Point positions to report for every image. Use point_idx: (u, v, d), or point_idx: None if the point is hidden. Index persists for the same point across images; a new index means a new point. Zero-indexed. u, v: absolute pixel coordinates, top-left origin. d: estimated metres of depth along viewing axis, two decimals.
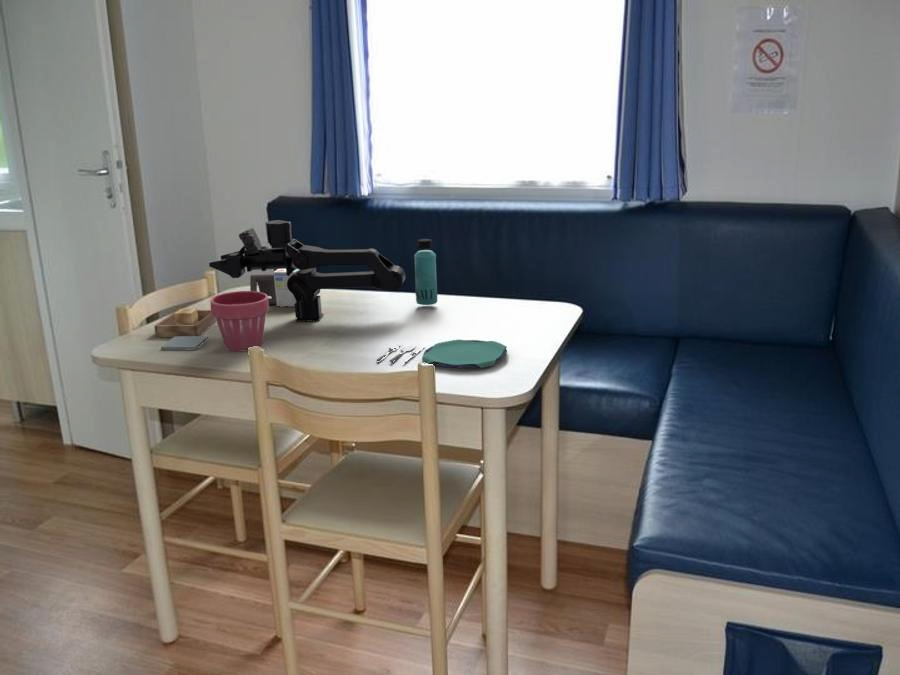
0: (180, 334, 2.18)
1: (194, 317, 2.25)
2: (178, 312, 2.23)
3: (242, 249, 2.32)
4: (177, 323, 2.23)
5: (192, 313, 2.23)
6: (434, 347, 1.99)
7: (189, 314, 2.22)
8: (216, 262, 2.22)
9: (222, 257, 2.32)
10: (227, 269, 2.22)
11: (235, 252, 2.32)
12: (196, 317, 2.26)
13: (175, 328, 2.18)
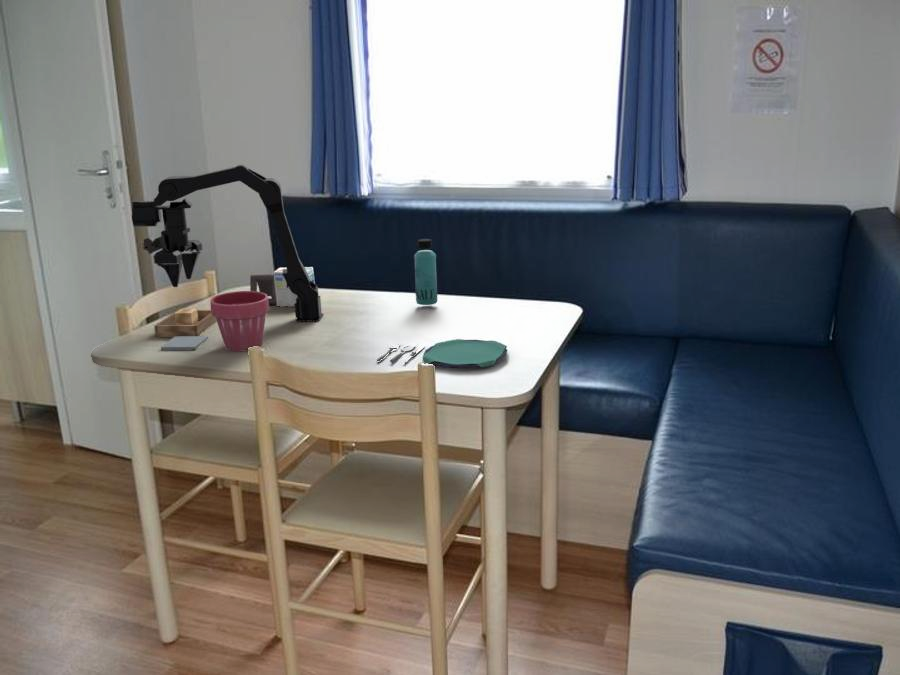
0: (180, 334, 2.18)
1: (194, 317, 2.25)
2: (178, 312, 2.23)
3: None
4: (177, 323, 2.23)
5: (192, 313, 2.23)
6: (434, 347, 1.99)
7: (189, 314, 2.22)
8: (170, 278, 2.16)
9: (188, 277, 2.26)
10: (175, 268, 2.14)
11: None
12: (196, 317, 2.26)
13: (175, 328, 2.18)
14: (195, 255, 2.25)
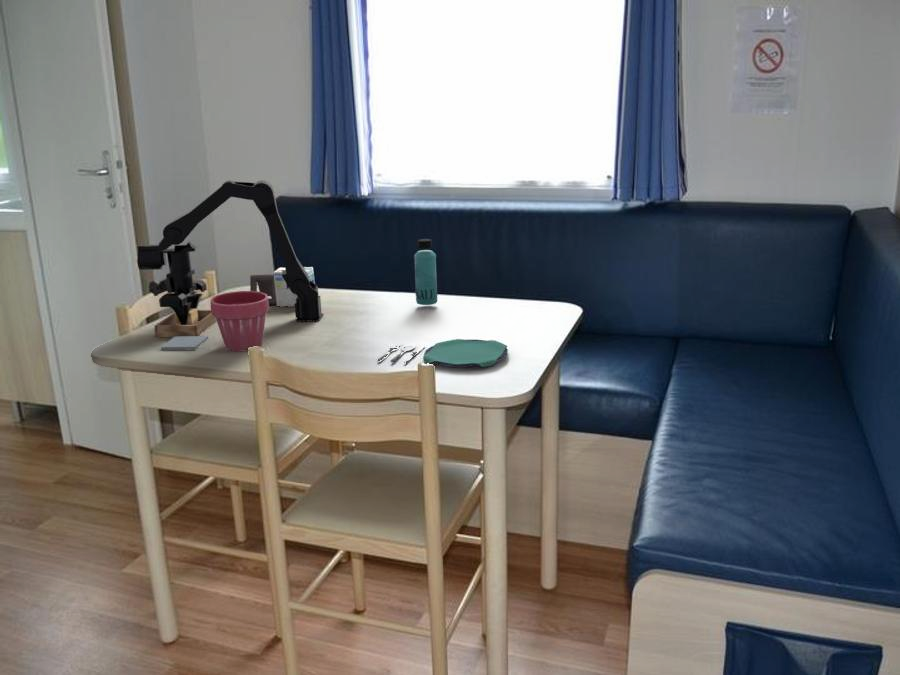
0: (180, 334, 2.18)
1: (194, 317, 2.25)
2: None
3: None
4: (177, 323, 2.23)
5: (192, 313, 2.23)
6: (435, 347, 1.99)
7: (189, 314, 2.22)
8: (179, 318, 2.22)
9: None
10: (183, 308, 2.20)
11: None
12: (196, 317, 2.26)
13: (175, 328, 2.18)
14: (197, 298, 2.26)
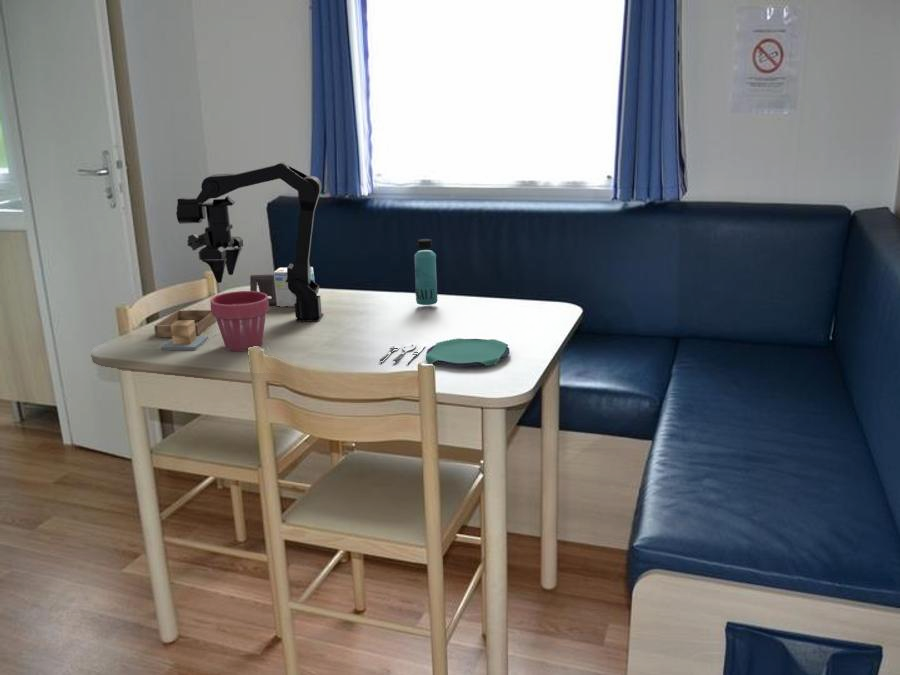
0: None
1: (191, 329, 2.10)
2: (174, 324, 2.09)
3: None
4: (173, 336, 2.09)
5: (189, 325, 2.09)
6: (436, 346, 2.00)
7: (186, 326, 2.08)
8: (214, 274, 2.20)
9: (230, 273, 2.30)
10: (219, 264, 2.19)
11: None
12: (193, 329, 2.11)
13: None
14: (237, 251, 2.29)
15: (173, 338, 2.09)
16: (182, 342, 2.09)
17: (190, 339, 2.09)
